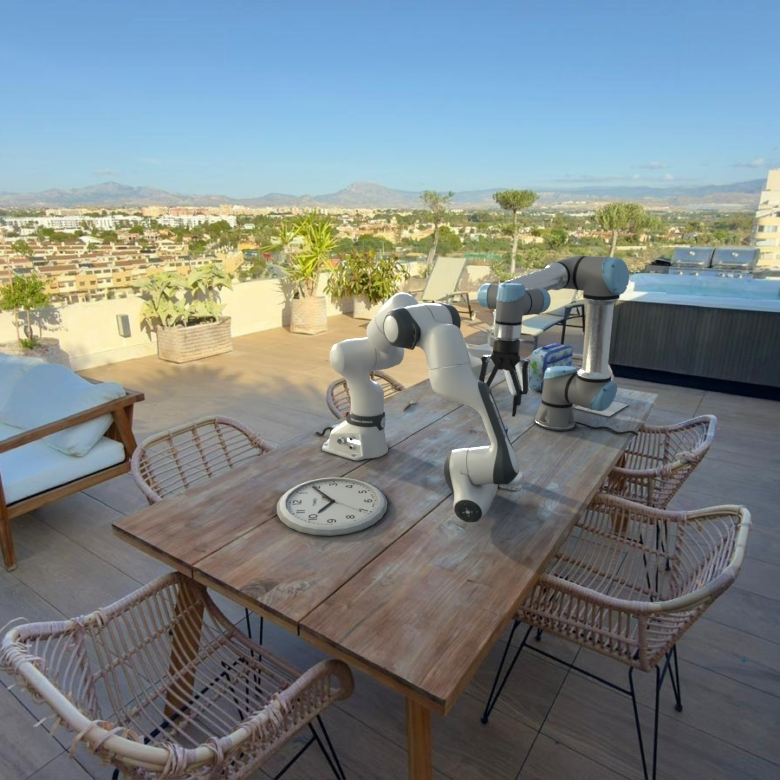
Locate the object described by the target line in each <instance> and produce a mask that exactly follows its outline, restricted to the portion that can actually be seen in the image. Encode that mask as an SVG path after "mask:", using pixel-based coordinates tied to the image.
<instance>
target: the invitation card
mask: <svg viewBox="0 0 780 780" xmlns="http://www.w3.org/2000/svg"><path fill="white" fill-rule="evenodd" d="M628 406H629V404H627V403H623V402H618V401H614V400H613V402H612V403H611V405H610V406H609V407H608V408H607V409H606V410H604V411H596V410H590V409H588V408H585V407H581V406H578V405H575V406H574V407H573V409H575V410H581V411H584V412H587V413H593V414H596V415H600V416H604V417H608V418H609V417H611V416H613V415H614V414H616V413H617V412H619V411H621V410H623V409H624V408H626V407H628Z"/></svg>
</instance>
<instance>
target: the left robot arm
mask: <svg viewBox="0 0 780 780" xmlns="http://www.w3.org/2000/svg"><path fill="white" fill-rule="evenodd" d="M461 325H462V319H461V315H460V313H459V311H458V309H457V308H456V307H455V306H454V305H452V304H448V303H443V302H436V303H420V304H419V302H418V300H417V299H416V297H414V296H413V295H412V294H409V293H407V292H399V293H396V294H394V295H392V296H391V297H390V298H389V299H387V300H386V301H385V302H384V303H383V304H382V306H380V308H379V309H378V310H377V312H376V313H375V314H374V316H373V317H372V319H370V321H369V323H368V324H367V326H366V337H359V338H350V339H349V338H348V339H345V340H342V341H339V342H336V343H334V344H333V345H332V346H331V349H330V351H329V357H328V359H329V364H330V366H331V367H332V369H333V370H334V371H335V372H336V373H338V374H339V375H340V376H341V377H342V378H343V379H344V380H345V382H346V384H347V385H348V389H349V396H350V397H349V398H350V407H349V409H348V410H346V411H345V413H343V418H345V419H344V420H343V421H341V422H340V423H335V424H333V425H331V426H325V428H323V429H322V432H319V431H315V434H316V435H318V436H320V437H322V436H324V435H325V433H326V432H327V430H329V437H328V439H327V440H325V442H324V443H323V444H322V448H321V449H322V451H323V452H326V453H328V454H333V455H336V456H339V457H342V458H345V459H349V460H352V461H356V462H357V461H362V460H367V459H375V458H379V457H383V456H384V455H386V454H388V451H389V447H388V443H387V440H386V439H387V438H386V432H385V427H386V411H385V390H384V388H383V386H382V385H381V384H380V383H379V382H377V381H376V380H375V381H374V380H372V379H371V372H374V371H375V372H376V371H382V370H383V371H384V370H388V369H391V368H393V367H396V366H399V365H400V364H401V363H402V362H403V360H404V357H405V349H407V350H411V351H414V350H415V349H416V347H417V348H420V350H422V351H423V353H424V355H425V360H426V361H425V362H426V367H427V368H426V369H427V373H428V374H427V375H428V378H429V383H430V386H431V388H432V391H433V392H434V393H435V394H436V395H437V396H438V397H440V398H441V399H443V400H445V401H446V402H447V401H448V402H451V403H455V404H459V405H464V406H467V407H470V408H471V409H474V410H475V411H477V413H478V414H479V415H480V417H481V420H482V423H483V426H484V428H485V431H486V434H487V437H488V439H489V443H490V442H491V445H490V444H488V445H481V446H472V447H470V446H469V447H461V448H455V449H452V450H451V451H450V452H449V453H448V455H447V457H446V459H445V461H444V464H443V474H444V479H445V482H446V484H447V486H448V488H449V489H450V491H451V492H452V493H453V505H452V509H453V512H454V514H455V516H456V517H457V518H458V519H460V520H461V521H463V522H466V523H476V522H479V521H481V520H483V518H485V516H486V515H487V513H488V512H489V510H490V508H491V506H492V503H493V500H494V499H495V497H496V494H497V492H498V491H503V492H506V493H507V492H508V493H517V492H520V491H521V490H522V489H523V484H524V480H525V474H524V472H522V471H520V462H519V458H518V456H517V454H516V451H515V449H514V446H513V445H512V442H511V440H510V437H509V435H508V433H507V432H506V430H505V427H504V425H505V424H504V421H503V418H502V416H501V413H500V411H499V408H498V405H497V402H496V400H495V398H494V395H493V393H492V390H491V388H490V387H488V386H487V384H486V382H485V381H484V382H482V381H480V380H479V379H478V378H477V377H476V376H475V374H474V372H473V370H472V367H471V363H470V358H469V354H468V350H467V346H466V344H467V343H466V340H465V337H464V336H463V332H462V331H461ZM466 363H469V364H466ZM461 364H463V365H461ZM455 365H457V366H455ZM450 366H452V367H450ZM490 390H491V391H490Z"/></svg>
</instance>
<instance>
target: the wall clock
mask: <svg viewBox="0 0 780 780" xmlns="http://www.w3.org/2000/svg"><path fill="white" fill-rule="evenodd" d="M387 509H388V500H387V498H386V496H385V494H384V493H383V492H382V491H381V490H380V489H379V488H377V487H376V486H374V485H372V484H371V483H369V482H365V481H362V480H359V479H355V478H349V477H338V476H337V477H335V476H333V477H332V476H331V477H322V478H317V479H312V480H307V481H305V482H302V483H299V484H297V485H295V486H293V487H292V488H290V489H288V490H287V491H286V492H285V493H284V494H283V495H281V496H280V498H279V499H278V502H277V503H276V515H277V517H278V518H279V520H280V521H281V522H282V523H283V524H285V525H286V526H287V527H288V528H290V529H293V530H295V531H297V532H299V533H303V534H308V535H312V536H327V537H328V536H329V537H331V536H332V537H333V536H342V535H350V534H352V533H356V532H361V531H363V530H366V529H368V528H369V527H372V526H373V525H375V524H376V523H378V522H379V521H380V520H381V519H382V518H383V517H384V516H385V514H386V512H387Z"/></svg>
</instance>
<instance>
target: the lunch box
mask: <svg viewBox="0 0 780 780" xmlns="http://www.w3.org/2000/svg"><path fill="white" fill-rule="evenodd" d="M573 356H574V355H573V347H572V346H571V345H566V344H560V343H551V344H548V345H544V346H541V347H538V348H536V349H534V350H533V351H532V353H531V355H530V359H529V361H530V362H529V368H528V387H529V389H531V390H536V391H541V392H542V391H543V381H544V380H543V378H544V374H545V371H546V369H547V368H550V367H554V366H572V365H573V363H572V362H573Z"/></svg>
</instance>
